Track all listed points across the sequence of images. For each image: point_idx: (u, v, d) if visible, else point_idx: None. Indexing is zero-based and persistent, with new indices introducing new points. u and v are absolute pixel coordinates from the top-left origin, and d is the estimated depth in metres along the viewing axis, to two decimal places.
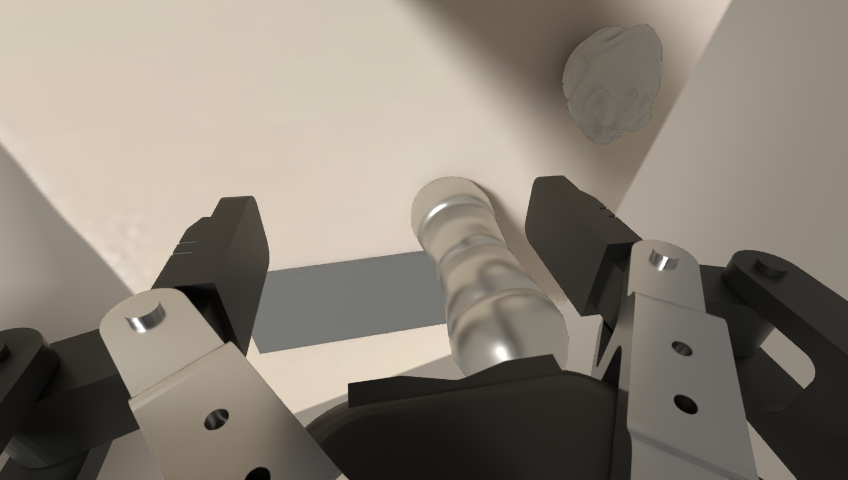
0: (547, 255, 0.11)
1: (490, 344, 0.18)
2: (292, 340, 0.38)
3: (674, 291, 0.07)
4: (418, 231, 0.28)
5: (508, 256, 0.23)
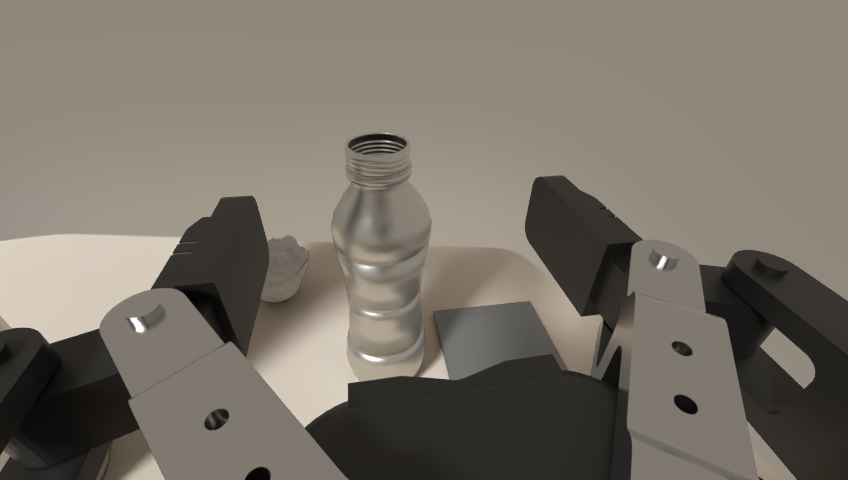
0: (547, 255, 0.11)
1: (349, 221, 0.22)
2: None
3: (675, 291, 0.07)
4: (384, 364, 0.28)
5: None
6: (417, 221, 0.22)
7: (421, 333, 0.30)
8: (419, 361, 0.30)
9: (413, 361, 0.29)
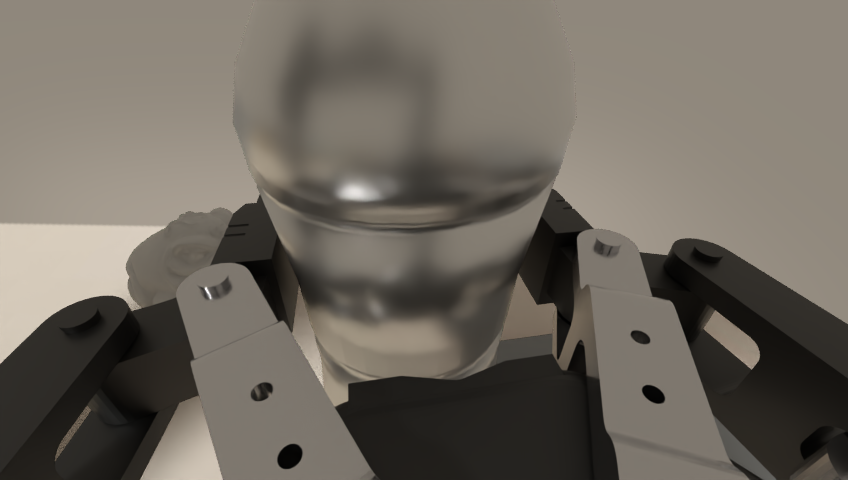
0: None
1: (282, 36, 0.05)
2: None
3: (622, 277, 0.07)
4: None
5: None
6: (556, 59, 0.06)
7: None
8: None
9: None
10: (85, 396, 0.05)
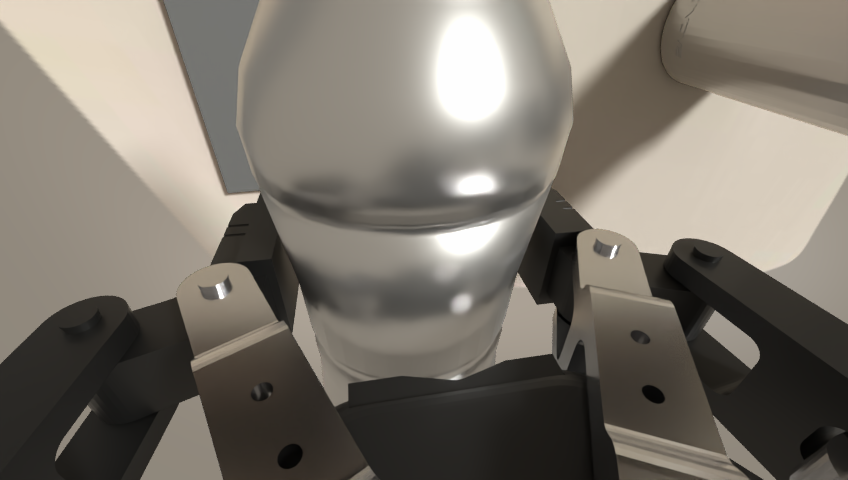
0: None
1: (286, 42, 0.05)
2: None
3: (621, 278, 0.07)
4: None
5: None
6: (552, 64, 0.06)
7: None
8: None
9: None
10: (85, 396, 0.05)
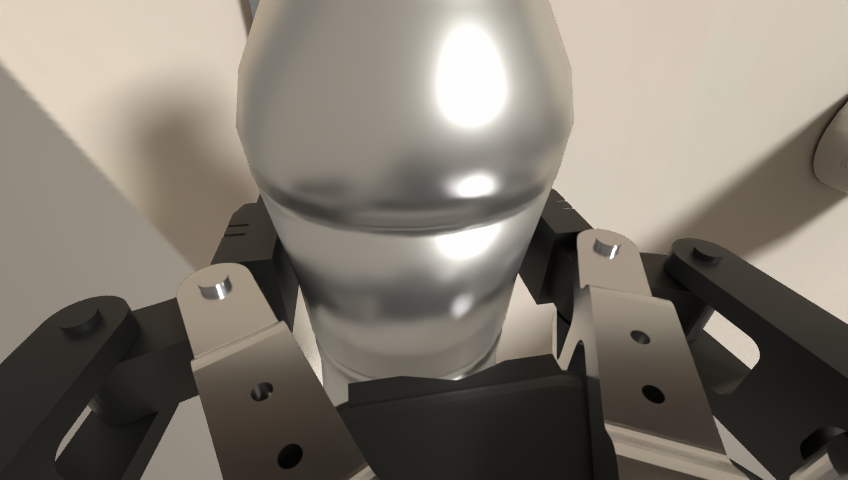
0: None
1: (286, 44, 0.05)
2: None
3: (621, 277, 0.07)
4: None
5: None
6: (553, 66, 0.06)
7: None
8: None
9: None
10: (85, 396, 0.05)
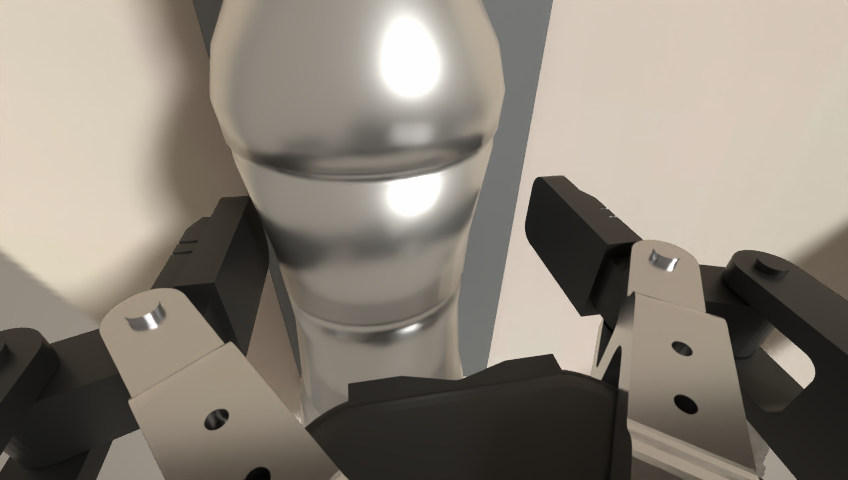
0: (547, 255, 0.11)
1: None
2: None
3: (675, 291, 0.07)
4: None
5: None
6: (451, 47, 0.07)
7: None
8: None
9: None
10: (2, 437, 0.05)
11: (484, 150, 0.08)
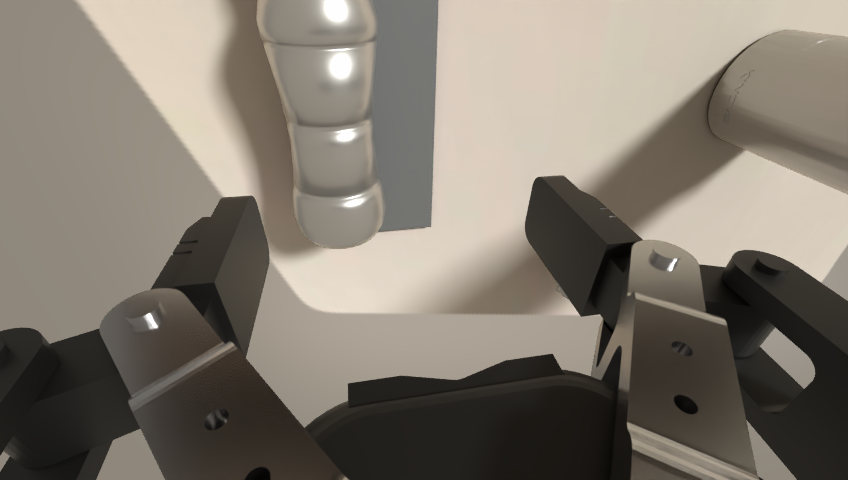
0: (547, 255, 0.11)
1: None
2: None
3: (675, 291, 0.07)
4: (300, 201, 0.25)
5: None
6: (315, 1, 0.18)
7: (355, 198, 0.25)
8: (342, 227, 0.25)
9: (331, 219, 0.25)
10: (2, 437, 0.05)
11: (343, 49, 0.20)
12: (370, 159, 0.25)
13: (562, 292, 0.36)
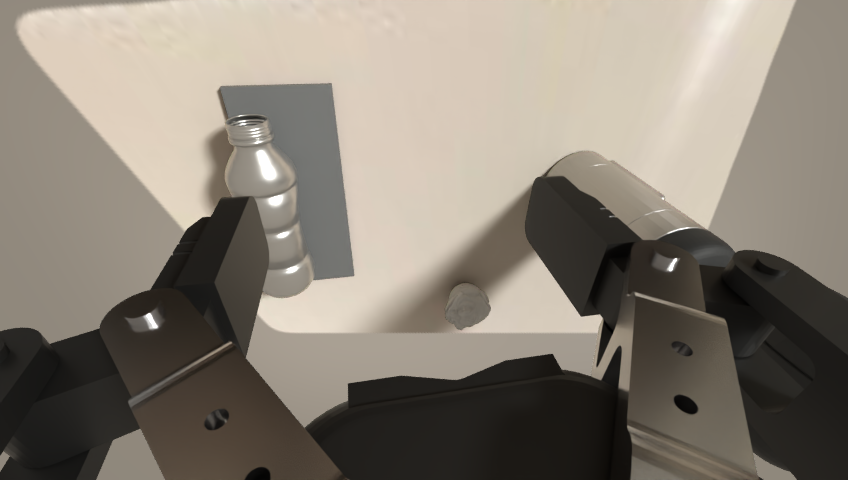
0: (547, 255, 0.11)
1: None
2: None
3: (675, 291, 0.07)
4: None
5: None
6: (254, 177, 0.34)
7: (289, 269, 0.41)
8: (281, 286, 0.41)
9: (274, 282, 0.41)
10: (2, 437, 0.05)
11: (272, 197, 0.35)
12: (298, 245, 0.40)
13: (448, 320, 0.52)
